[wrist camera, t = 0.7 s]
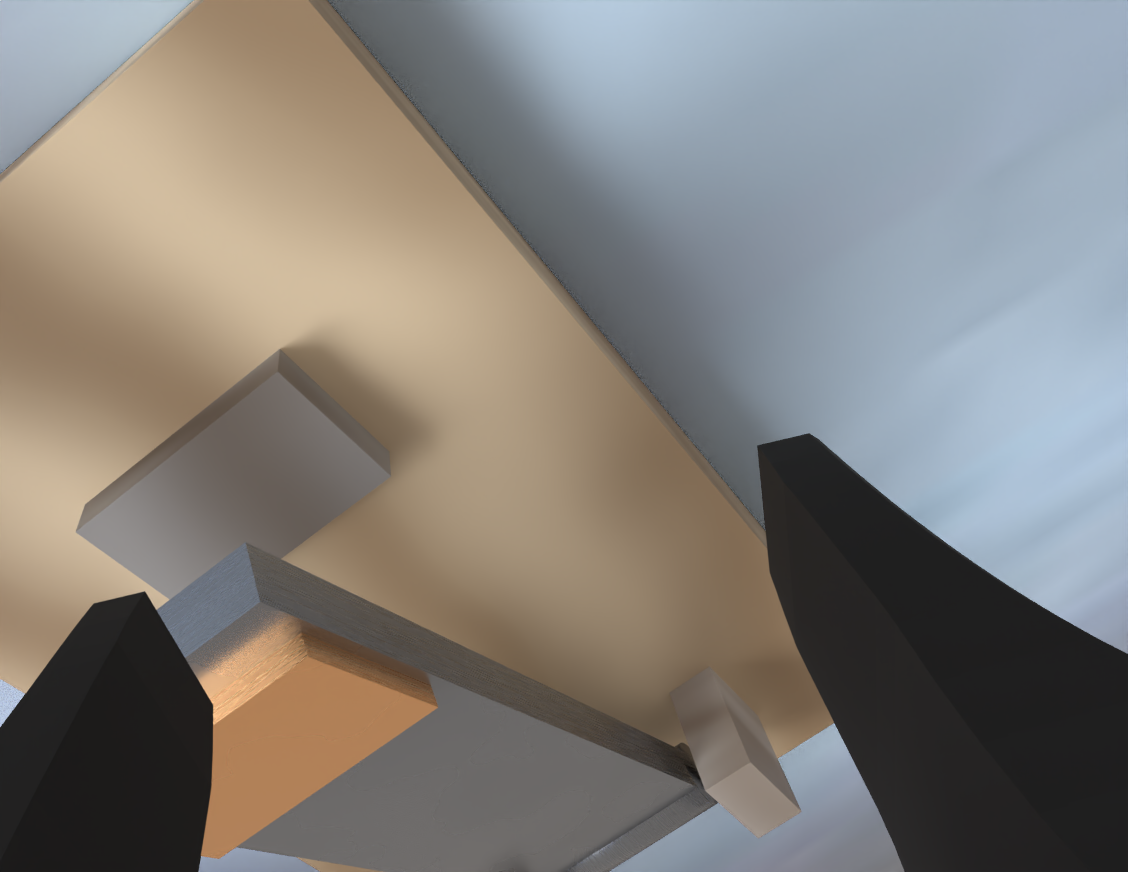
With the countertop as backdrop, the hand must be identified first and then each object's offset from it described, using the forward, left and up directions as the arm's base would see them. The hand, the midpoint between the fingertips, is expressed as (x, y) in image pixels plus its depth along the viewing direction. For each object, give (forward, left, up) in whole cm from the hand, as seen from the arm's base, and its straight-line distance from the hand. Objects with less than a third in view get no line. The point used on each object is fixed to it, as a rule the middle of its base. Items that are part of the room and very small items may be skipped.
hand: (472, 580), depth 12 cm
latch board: (-5, -5, -10) cm, 13 cm away
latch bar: (-5, -6, -5) cm, 9 cm away
